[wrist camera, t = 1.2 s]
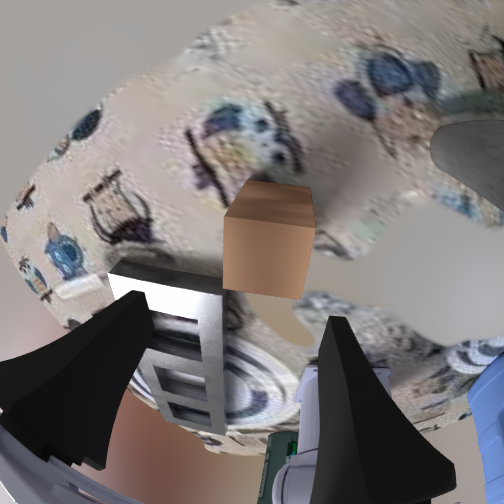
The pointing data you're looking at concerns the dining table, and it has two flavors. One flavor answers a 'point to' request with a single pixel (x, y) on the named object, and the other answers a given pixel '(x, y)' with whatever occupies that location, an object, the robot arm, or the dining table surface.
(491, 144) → the hip flask
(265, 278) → the square block
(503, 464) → the water jug
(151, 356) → the grey flat perforated plate
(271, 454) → the can
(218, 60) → the dining table surface
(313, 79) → the dining table surface
